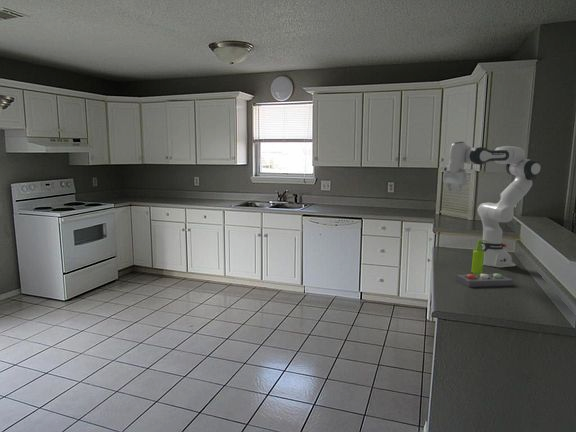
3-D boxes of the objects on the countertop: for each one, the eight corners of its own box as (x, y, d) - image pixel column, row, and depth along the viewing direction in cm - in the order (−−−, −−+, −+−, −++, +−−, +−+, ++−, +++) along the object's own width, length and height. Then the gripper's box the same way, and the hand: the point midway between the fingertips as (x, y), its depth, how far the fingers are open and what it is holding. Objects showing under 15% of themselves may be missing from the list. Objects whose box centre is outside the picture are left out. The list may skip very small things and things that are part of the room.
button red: (471, 279, 224) (472, 273, 223) (476, 281, 220) (476, 276, 220) (465, 279, 223) (465, 274, 223) (469, 281, 219) (470, 276, 219)
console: (497, 278, 232) (497, 273, 231) (512, 285, 220) (513, 280, 219) (455, 280, 227) (456, 274, 226) (468, 286, 215) (469, 281, 215)
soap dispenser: (485, 274, 239) (488, 241, 236) (472, 273, 240) (475, 240, 237) (482, 272, 245) (485, 239, 242) (470, 271, 246) (473, 238, 243)
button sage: (497, 278, 227) (498, 273, 226) (502, 280, 223) (503, 275, 223) (491, 278, 226) (491, 273, 226) (496, 280, 222) (496, 275, 222)
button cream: (484, 278, 225) (485, 273, 225) (489, 281, 222) (490, 275, 221) (478, 279, 225) (478, 273, 224) (483, 281, 221) (483, 275, 220)
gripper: (471, 169, 239) (468, 193, 241) (451, 168, 259) (449, 190, 261) (461, 169, 238) (459, 193, 240) (442, 168, 258) (440, 190, 260)
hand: (453, 191), depth 251 cm, fingers open, 8 cm apart
